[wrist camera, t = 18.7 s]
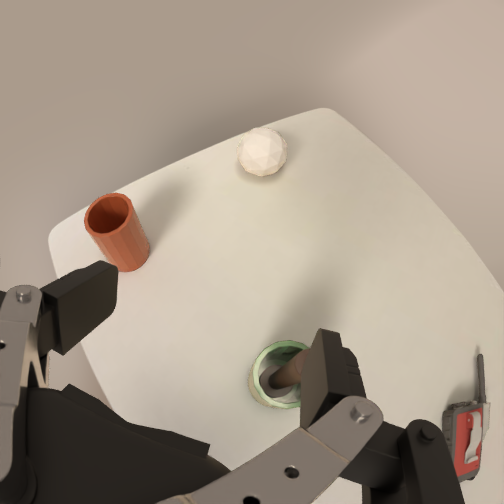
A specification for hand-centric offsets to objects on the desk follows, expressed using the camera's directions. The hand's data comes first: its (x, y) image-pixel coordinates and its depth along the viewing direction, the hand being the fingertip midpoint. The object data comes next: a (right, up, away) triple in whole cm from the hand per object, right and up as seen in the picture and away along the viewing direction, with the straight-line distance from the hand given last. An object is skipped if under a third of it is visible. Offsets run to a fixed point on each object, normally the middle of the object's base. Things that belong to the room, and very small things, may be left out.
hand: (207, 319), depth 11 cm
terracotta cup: (-15, +3, +28) cm, 32 cm away
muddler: (+4, -12, +21) cm, 25 cm away
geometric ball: (+3, +16, +37) cm, 41 cm away
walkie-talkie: (+32, -22, +18) cm, 43 cm away
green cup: (+4, -12, +22) cm, 25 cm away
